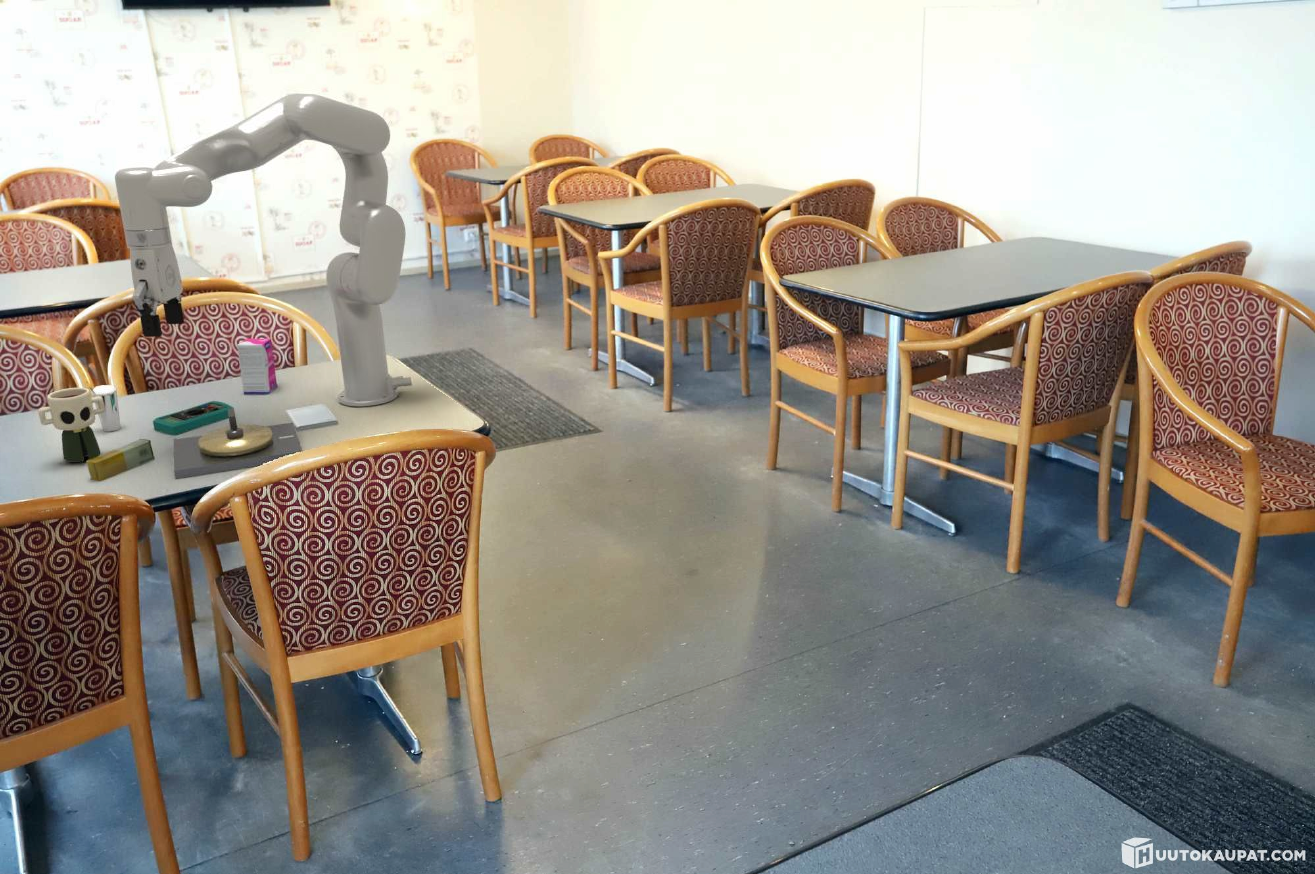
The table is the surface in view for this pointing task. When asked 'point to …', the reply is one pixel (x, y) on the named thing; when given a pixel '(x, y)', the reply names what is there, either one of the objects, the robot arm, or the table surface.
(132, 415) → the table surface
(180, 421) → the digital multimeter
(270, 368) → the supplement box
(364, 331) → the robot arm
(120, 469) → the medication box
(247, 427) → the dial
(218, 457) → the base plate
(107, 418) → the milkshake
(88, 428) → the character mug
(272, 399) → the table surface
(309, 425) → the hard drive
